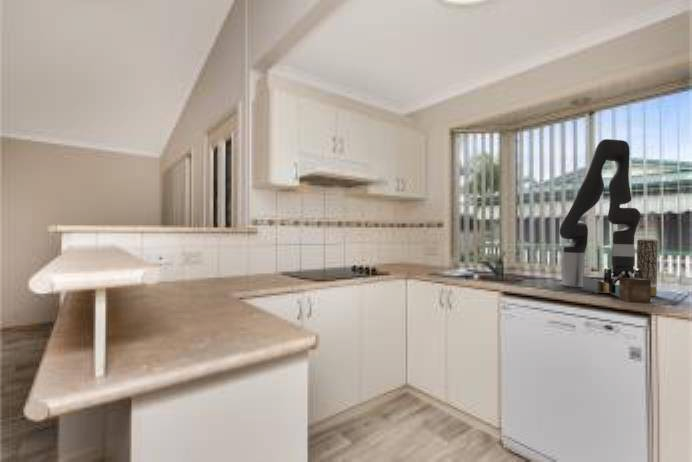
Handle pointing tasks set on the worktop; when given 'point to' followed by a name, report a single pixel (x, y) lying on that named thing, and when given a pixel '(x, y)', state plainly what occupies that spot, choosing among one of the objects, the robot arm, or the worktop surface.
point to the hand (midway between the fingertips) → (622, 293)
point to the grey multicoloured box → (592, 283)
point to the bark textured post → (648, 261)
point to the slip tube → (606, 287)
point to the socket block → (634, 289)
